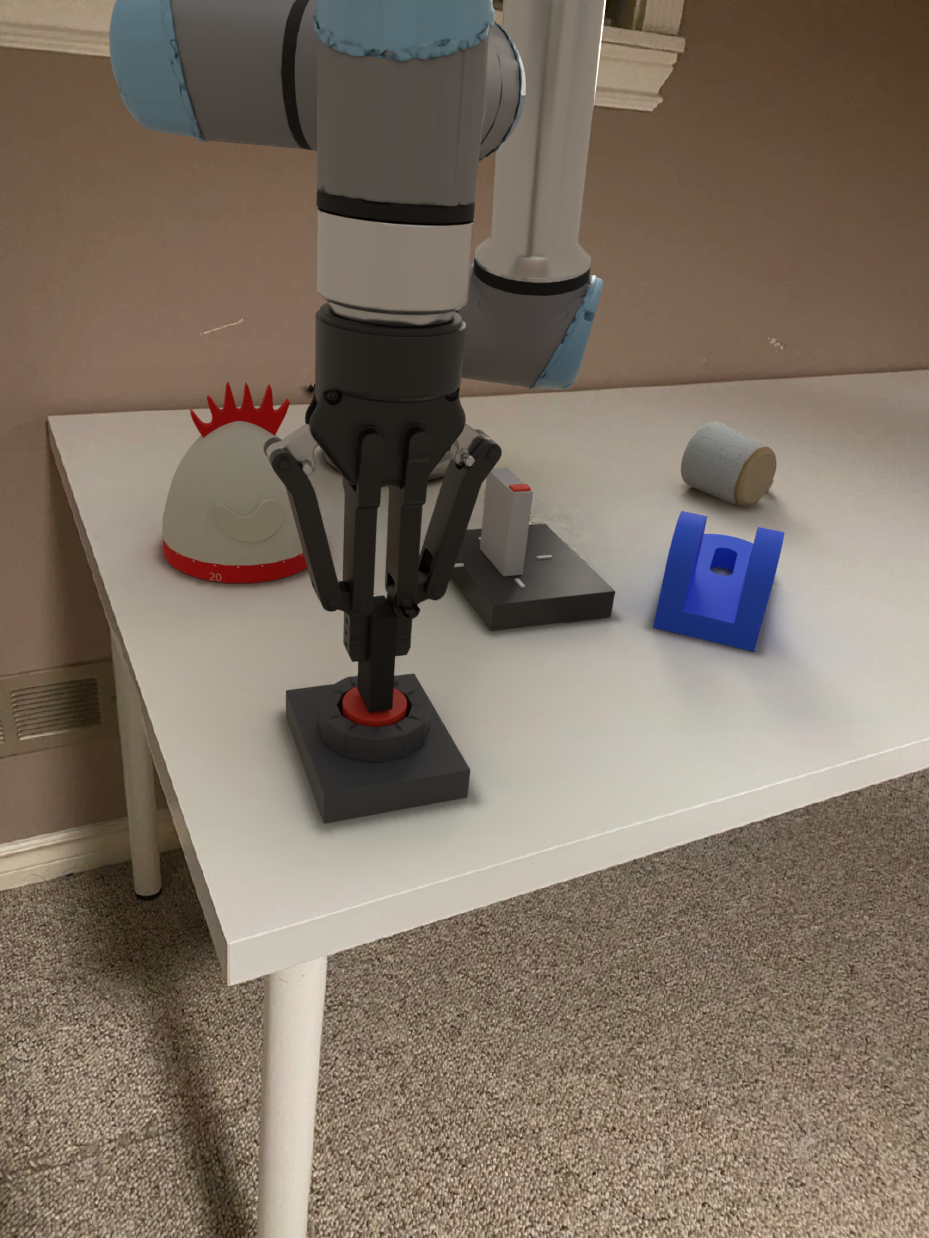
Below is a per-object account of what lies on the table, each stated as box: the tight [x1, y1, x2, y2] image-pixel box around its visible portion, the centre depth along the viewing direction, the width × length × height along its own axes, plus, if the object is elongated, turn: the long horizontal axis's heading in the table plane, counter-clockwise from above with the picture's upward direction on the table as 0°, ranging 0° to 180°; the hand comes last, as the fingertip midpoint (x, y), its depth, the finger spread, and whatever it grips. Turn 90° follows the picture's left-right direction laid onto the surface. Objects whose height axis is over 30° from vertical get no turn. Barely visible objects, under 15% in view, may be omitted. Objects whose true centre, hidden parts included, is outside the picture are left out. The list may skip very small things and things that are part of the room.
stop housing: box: [285, 672, 471, 824], centre depth 60 cm, size 11×9×4 cm
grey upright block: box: [480, 467, 534, 576], centre depth 80 cm, size 6×2×8 cm, turn 21°
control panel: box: [450, 523, 616, 632], centre depth 83 cm, size 14×12×3 cm
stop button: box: [342, 687, 407, 727], centre depth 59 cm, size 4×4×2 cm
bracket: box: [652, 510, 786, 653], centre depth 83 cm, size 18×8×9 cm, turn 160°
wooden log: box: [680, 420, 777, 507], centre depth 106 cm, size 11×8×8 cm
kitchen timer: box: [161, 381, 309, 584], centre depth 82 cm, size 14×14×15 cm
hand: (374, 698), depth 59 cm, fingers closed
